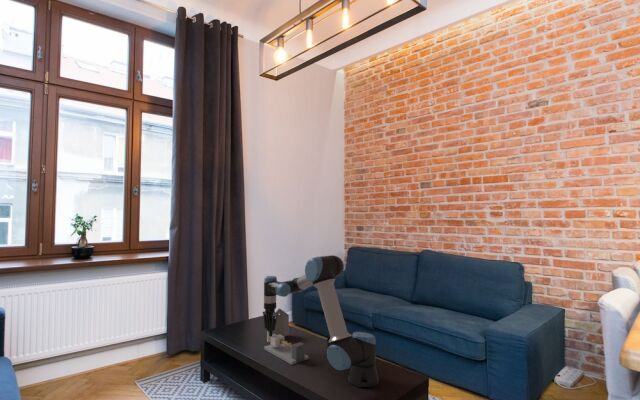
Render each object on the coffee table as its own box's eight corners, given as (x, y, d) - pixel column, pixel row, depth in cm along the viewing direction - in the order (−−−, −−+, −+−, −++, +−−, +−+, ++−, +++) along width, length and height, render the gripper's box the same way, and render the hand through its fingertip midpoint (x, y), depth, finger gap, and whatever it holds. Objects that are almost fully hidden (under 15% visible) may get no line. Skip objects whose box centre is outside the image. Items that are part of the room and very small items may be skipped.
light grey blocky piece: (308, 358, 202) (308, 342, 202) (291, 364, 194) (291, 348, 195) (280, 344, 223) (280, 329, 224) (264, 349, 216) (264, 334, 216)
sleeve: (284, 344, 214) (284, 336, 214) (275, 346, 209) (275, 339, 210) (279, 341, 218) (279, 334, 218) (270, 344, 213) (270, 336, 213)
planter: (281, 332, 245) (282, 303, 245) (288, 335, 239) (289, 306, 240) (261, 337, 234) (262, 308, 234) (268, 341, 228) (269, 310, 228)
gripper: (281, 303, 214) (280, 342, 213) (269, 298, 224) (268, 336, 223) (270, 305, 209) (270, 345, 208) (259, 300, 219) (258, 339, 218)
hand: (269, 341), depth 216 cm, fingers closed
